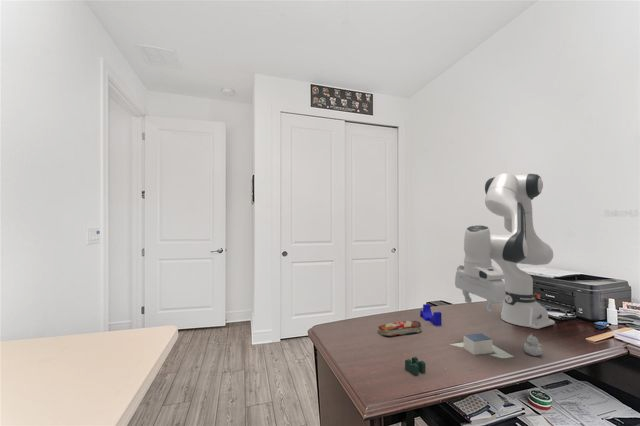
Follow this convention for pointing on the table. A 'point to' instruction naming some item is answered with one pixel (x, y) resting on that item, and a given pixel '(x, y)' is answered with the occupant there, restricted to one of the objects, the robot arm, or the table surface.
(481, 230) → the robot arm
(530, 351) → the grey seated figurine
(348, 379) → the table surface
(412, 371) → the mount
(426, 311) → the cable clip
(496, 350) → the mat
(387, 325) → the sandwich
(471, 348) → the card deck
